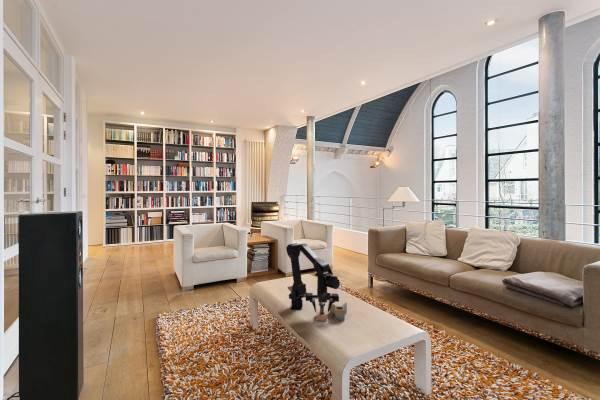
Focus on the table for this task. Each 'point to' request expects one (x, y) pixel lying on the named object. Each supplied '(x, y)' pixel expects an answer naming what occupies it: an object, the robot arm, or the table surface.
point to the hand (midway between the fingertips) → (321, 312)
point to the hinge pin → (321, 308)
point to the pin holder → (321, 316)
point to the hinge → (339, 311)
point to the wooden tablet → (291, 291)
